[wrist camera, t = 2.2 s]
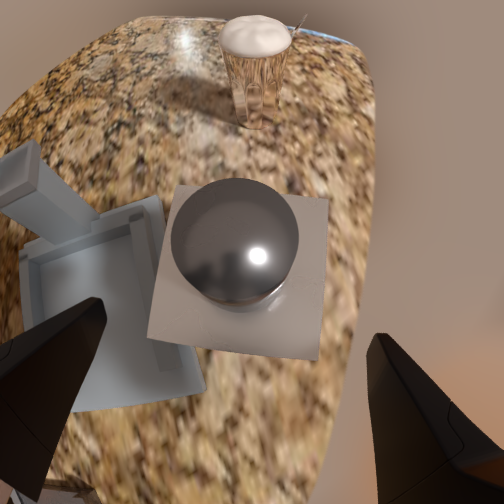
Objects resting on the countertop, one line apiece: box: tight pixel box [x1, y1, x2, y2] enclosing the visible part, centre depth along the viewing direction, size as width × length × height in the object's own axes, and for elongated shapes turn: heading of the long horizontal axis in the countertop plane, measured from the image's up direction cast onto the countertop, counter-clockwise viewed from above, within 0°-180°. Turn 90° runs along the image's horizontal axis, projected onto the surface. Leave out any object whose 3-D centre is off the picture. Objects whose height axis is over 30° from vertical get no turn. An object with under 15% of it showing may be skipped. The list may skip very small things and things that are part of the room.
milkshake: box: [218, 13, 307, 129], centre depth 19 cm, size 4×5×10 cm
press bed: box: [0, 139, 207, 412], centre depth 14 cm, size 13×12×10 cm
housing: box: [147, 178, 328, 361], centre depth 13 cm, size 6×6×12 cm
